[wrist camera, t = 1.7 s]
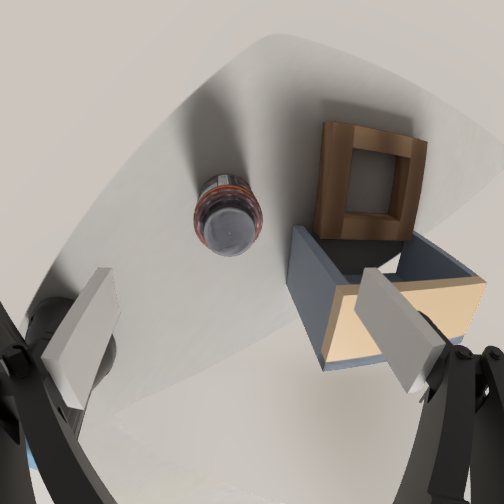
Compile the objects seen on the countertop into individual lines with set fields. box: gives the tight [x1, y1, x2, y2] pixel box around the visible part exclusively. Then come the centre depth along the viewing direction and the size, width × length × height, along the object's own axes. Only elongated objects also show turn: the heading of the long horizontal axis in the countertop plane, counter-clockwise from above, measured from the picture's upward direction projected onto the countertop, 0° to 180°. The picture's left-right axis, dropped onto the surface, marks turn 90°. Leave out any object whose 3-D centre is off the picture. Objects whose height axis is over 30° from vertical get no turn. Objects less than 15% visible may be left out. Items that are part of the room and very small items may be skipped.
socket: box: [313, 122, 428, 241], centre depth 32 cm, size 13×13×3 cm
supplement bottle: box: [194, 174, 263, 257], centre depth 27 cm, size 6×6×11 cm
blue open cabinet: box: [286, 225, 487, 371], centre depth 30 cm, size 18×8×16 cm, turn 87°
